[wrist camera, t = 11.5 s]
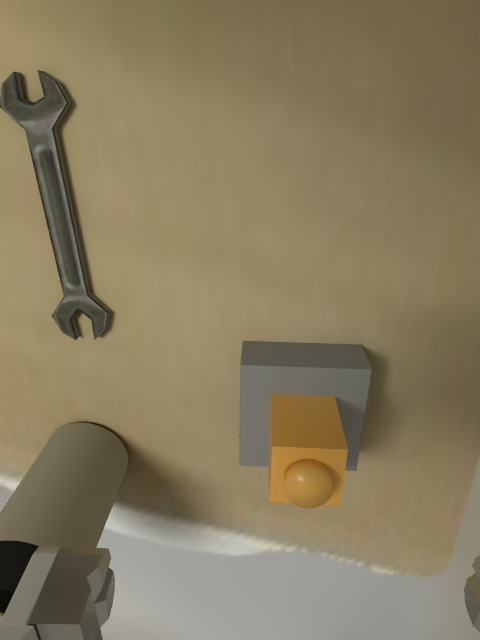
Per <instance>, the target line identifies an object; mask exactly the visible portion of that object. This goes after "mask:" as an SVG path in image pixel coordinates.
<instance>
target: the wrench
mask: <svg viewBox="0 0 480 640" xmlns="http://www.w3.org/2000/svg"><path fill="white" fill-rule="evenodd" d="M38 74H39V78H40V81H41V85H42V89H43V93H44V96H45V97H43V98H42V99H40V100H38V101H37V102H35V103H33V104H32V103H31V102H30V101H29V100H26V99H24V94H23V88H22V82H21V76H20V73H18V72H13V73H12V74H11V75H10V76H9V77H8V78H7V79H6V81H5V82H4V83H3V84H2V88H1V97H0V108H1V109H3V110H4V111H5V112H6V113H7V114H8V115H9V116H10V117H11V118H13V119H14V120H15V121H16V122H17V123H18V124H19V125H20V126H22V127H23V128H24V129H25V131H26V135H27V140H28V144H29V148H30V152H31V157H32V161H33V165H34V170H35V174H36V178H37V183H38V187H39V191H40V195H41V200H42V204H43V208H44V213H45V217H46V221H47V225H48V230H49V234H50V238H51V243H52V247H53V251H54V256H55V260H56V264H57V268H58V273H59V277H60V281H61V286H62V290H63V294H64V297H63V299H62V300H61V302H60V303H59V305H58V306H57V308H56V310H55V311H54V313H53V314H52V317H53V318H54V320H55V321H56V323H57V324H58V326H59V328H60V329H61V331H62V332H63V333H65V334H66V335H68V336H70V337H71V338H73V339H75V340H76V339H77V338H78V337H79V332H78V329H77V325H76V322H75V318H74V316H75V314H76V313H77V312H78V310H80V311H81V312H82V313H84V314H85V315H86V316H87V317H88V318H90V319H91V320H92V327H93V333H94V340H95V339H96V338H97V337H98V336H99V335H100V334H102V333H103V332H104V331H105V330H106V328H107V327H108V322H109V317H110V311H111V310H110V309H109V308H108V307H107V306H106V305H105V304H103V303H102V302H101V301H100V300H99V299H98V298H97V297H96V296H94V295H93V294H92V293H91V292H90V287H89V282H88V277H87V273H86V268H85V263H84V258H83V253H82V248H81V243H80V238H79V234H78V229H77V224H76V219H75V214H74V209H73V204H72V200H71V195H70V190H69V185H68V180H67V175H66V170H65V166H64V161H63V156H62V151H61V146H60V141H59V136H58V131H57V127H58V125H59V123H60V122H61V120H62V118H63V117H64V115H65V113H66V112H67V110H68V108H69V107H70V105H71V103H72V102H71V100H70V99H69V97H68V95H67V93H66V92H65V90H64V88H63V86H62V85H61V83H60V82H59V81H58V80H56V79H55V78H53V77H51V76H50V75H48V74H47V73H45V72H43V71H39V70H38Z"/></svg>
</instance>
